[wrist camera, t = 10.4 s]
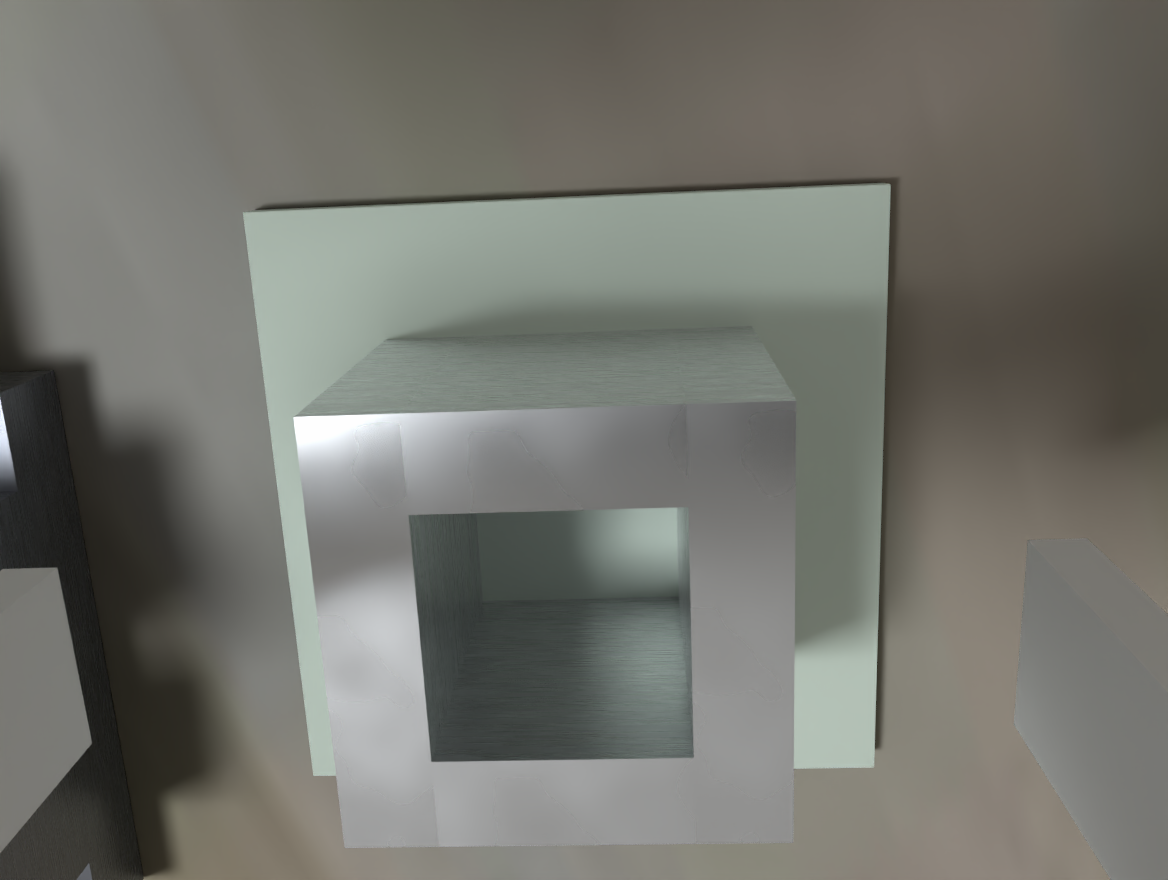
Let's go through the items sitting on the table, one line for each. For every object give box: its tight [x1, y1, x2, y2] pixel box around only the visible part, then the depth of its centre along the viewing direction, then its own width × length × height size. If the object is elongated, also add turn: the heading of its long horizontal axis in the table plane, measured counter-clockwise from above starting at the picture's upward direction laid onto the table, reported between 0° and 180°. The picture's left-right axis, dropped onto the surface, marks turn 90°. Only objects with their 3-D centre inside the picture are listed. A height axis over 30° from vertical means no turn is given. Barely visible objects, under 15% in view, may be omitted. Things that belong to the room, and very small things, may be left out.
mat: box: [243, 183, 891, 776], centre depth 22 cm, size 12×12×1 cm
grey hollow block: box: [294, 326, 796, 848], centre depth 19 cm, size 7×7×6 cm
